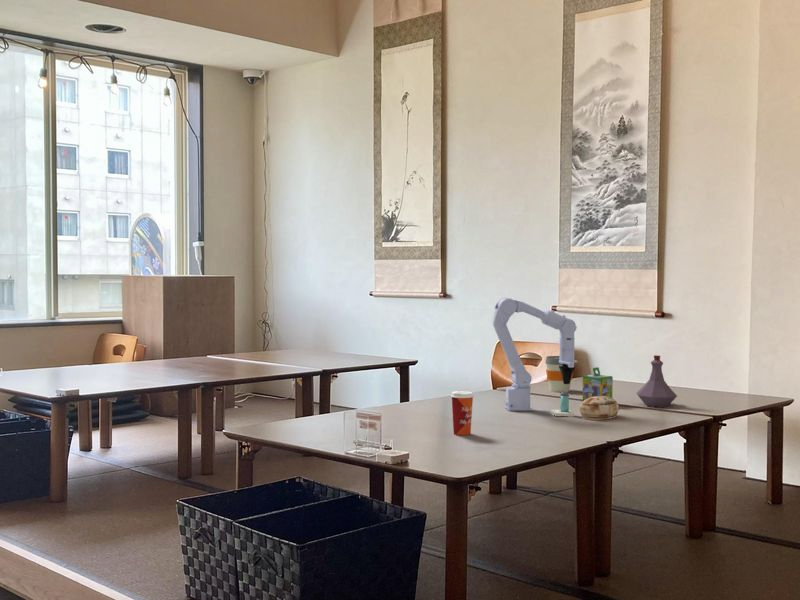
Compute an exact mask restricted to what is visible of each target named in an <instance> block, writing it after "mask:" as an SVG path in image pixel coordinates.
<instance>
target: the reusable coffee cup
mask: <svg viewBox="0 0 800 600" xmlns="http://www.w3.org/2000/svg"><path fill="white" fill-rule="evenodd" d="M545 364H546V369H545V371H546V373H545V374H546V379H547V381H548V389H549V390H548V391H550V392H555V393H561V392H568V391H569V392H570V390H571V382H572V380H573V375H574V372H573V373H572V376H571V380H570V384H564V383H563V379H562V374H561V371H560V369H559V366H562V365H563V364H560V363H559V355H549V356H545ZM569 392H568V393H569Z"/></svg>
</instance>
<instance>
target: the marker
mask: <svg viewBox="0 0 800 600" xmlns="http://www.w3.org/2000/svg"><path fill="white" fill-rule="evenodd" d="M560 410H561V412H569V410H570V393H569V392H560Z"/></svg>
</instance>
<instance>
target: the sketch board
mask: <svg viewBox="0 0 800 600" xmlns="http://www.w3.org/2000/svg"><path fill="white" fill-rule="evenodd" d="M549 413H550V414H551V415H552V414H553V415H552V416H554V415H555V416H568V417H575V413H574V412H573V411H571V410H570V409H569V412H561V409H550V411H549ZM555 416H554V417H555Z"/></svg>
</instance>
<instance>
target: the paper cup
mask: <svg viewBox="0 0 800 600" xmlns="http://www.w3.org/2000/svg"><path fill="white" fill-rule="evenodd" d="M450 397H451V409H452V424H453V425H452V427H453V428H452V429H453V435H456V436H461V435H464V436H470V435H471V432H472V431H471V429H472V415H473V401H474V393H473V392H472V391H467V390H461V391H460V390H457V391H456V390H455V391H451V395H450ZM469 434H470V435H469Z"/></svg>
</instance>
